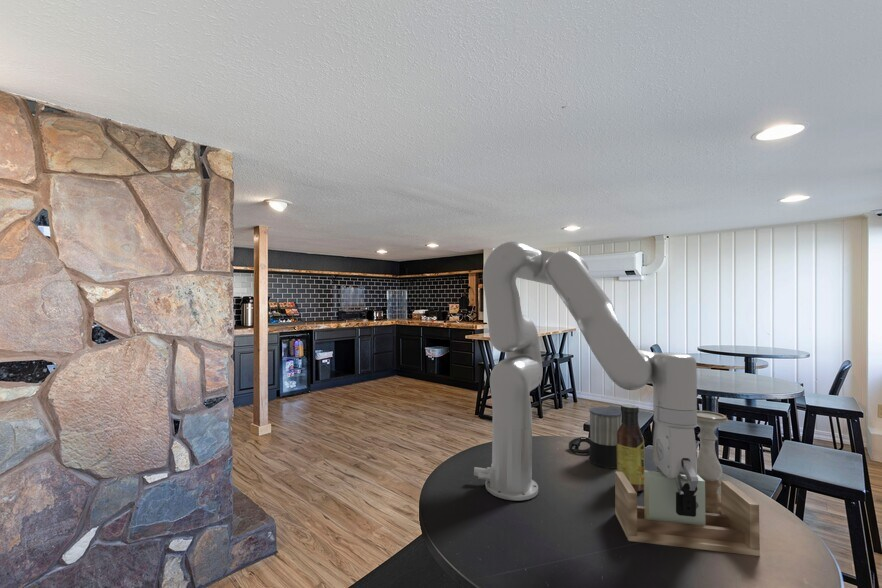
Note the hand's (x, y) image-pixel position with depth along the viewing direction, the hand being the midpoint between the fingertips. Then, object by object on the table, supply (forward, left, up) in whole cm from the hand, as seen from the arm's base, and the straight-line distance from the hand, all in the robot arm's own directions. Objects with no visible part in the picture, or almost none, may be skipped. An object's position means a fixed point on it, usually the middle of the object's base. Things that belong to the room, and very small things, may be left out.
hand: (675, 502), depth 78 cm
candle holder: (+12, +14, -6) cm, 19 cm away
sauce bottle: (-3, +20, -6) cm, 21 cm away
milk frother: (-8, +38, -6) cm, 40 cm away
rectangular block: (0, 0, -5) cm, 5 cm away
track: (+1, 0, -6) cm, 6 cm away
